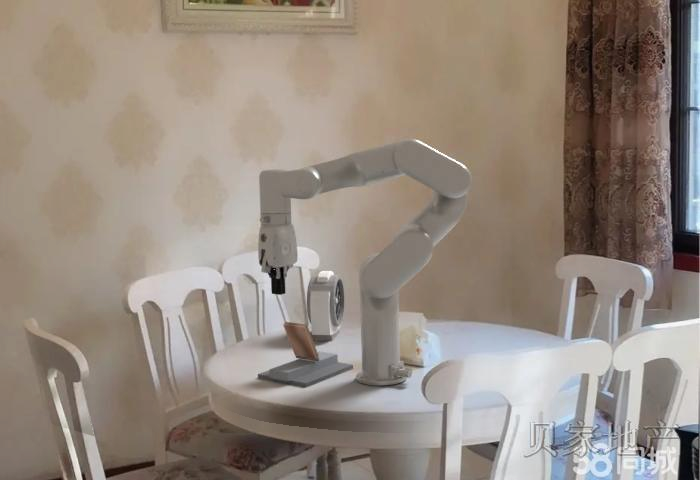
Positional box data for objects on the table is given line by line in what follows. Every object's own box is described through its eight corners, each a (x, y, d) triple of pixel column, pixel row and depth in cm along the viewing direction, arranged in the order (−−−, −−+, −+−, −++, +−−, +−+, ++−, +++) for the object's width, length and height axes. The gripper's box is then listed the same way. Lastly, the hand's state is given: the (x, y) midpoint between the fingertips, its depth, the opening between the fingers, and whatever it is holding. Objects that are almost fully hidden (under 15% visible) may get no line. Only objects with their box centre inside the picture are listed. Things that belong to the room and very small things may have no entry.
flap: (317, 362, 215) (319, 359, 216) (304, 327, 210) (307, 324, 211) (296, 359, 219) (298, 356, 220) (283, 324, 214) (285, 321, 215)
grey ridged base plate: (353, 368, 220) (352, 356, 220) (304, 388, 204) (303, 375, 204) (305, 360, 230) (305, 349, 229) (255, 379, 213) (254, 366, 213)
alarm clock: (334, 343, 248) (332, 276, 245) (306, 343, 249) (304, 276, 247) (346, 330, 265) (344, 267, 263) (320, 329, 267) (318, 267, 264)
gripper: (267, 223, 197) (270, 300, 199) (307, 217, 209) (309, 290, 211) (243, 222, 201) (246, 297, 203) (284, 216, 213) (286, 287, 215)
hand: (278, 293), depth 207 cm, fingers closed
